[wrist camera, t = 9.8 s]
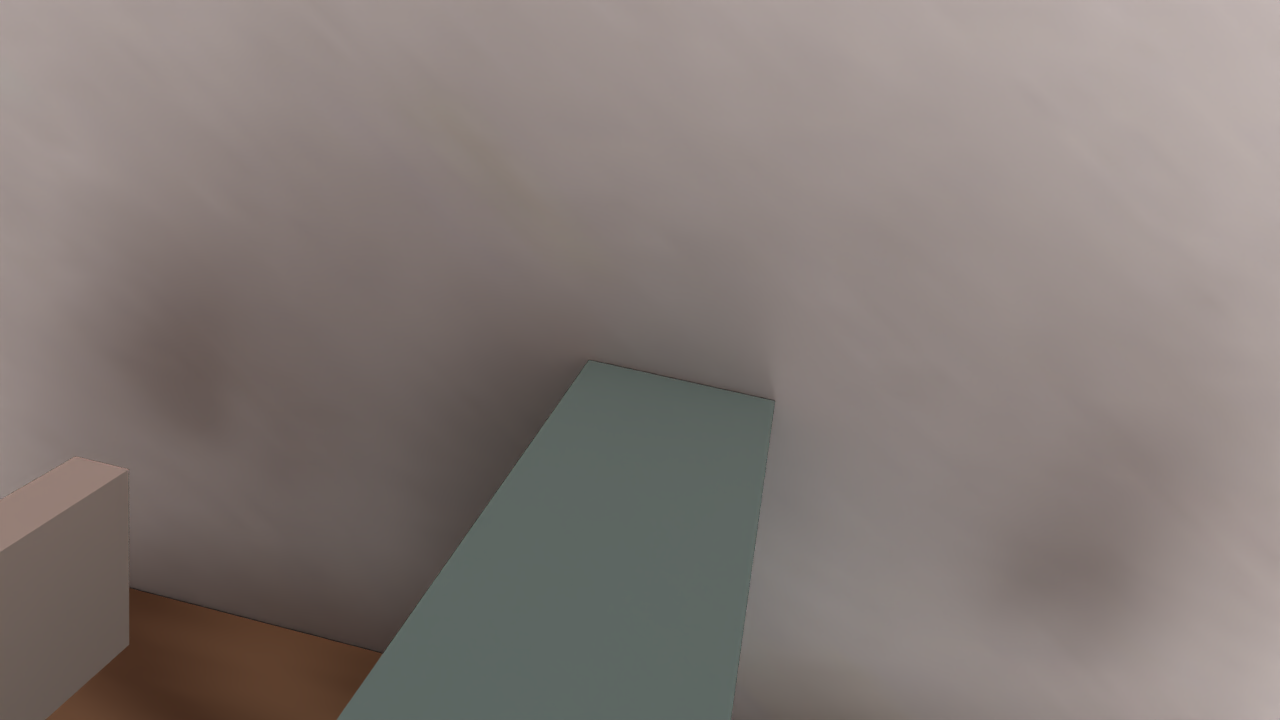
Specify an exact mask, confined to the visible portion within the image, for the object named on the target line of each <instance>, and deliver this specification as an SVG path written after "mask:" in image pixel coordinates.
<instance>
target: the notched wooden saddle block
mask: <svg viewBox="0 0 1280 720" xmlns="http://www.w3.org/2000/svg"><path fill="white" fill-rule="evenodd" d="M381 656H382V653H378V652H375V651H371V650H367V649H363V648H359V647H355V646H351V645H348V644H344V643H340V642H336V641H332V640H328V639H324V638H320V637H317V636H313V635H309V634H305V633H301V632H297V631H293V630H290V629H286V628H282V627H278V626H274V625H270V624H266V623H262V622H259V621H255V620H251V619H247V618H243V617H239V616H235V615H232V614H228V613H224V612H220V611H216V610H212V609H208V608H205V607H201V606H197V605H193V604H189V603H185V602H181V601H177V600H174V599H170V598H166V597H162V596H158V595H154V594H150V593H147V592H143V591H139V590H135V589H131V588H129V645H128V646H127V647H126V648H125V649H124V650H123V651H122V652H120V653H119V654H118V655H117V656H116V657H115V658H114V659H113V660H111V661H110V662H109V663H108V664H107V665H106V666H105V667H104V668H103V669H101V670H100V671H99V672H98V673H97V674H96V675H95V676H94V677H92V678H91V679H90V680H89V681H88V682H87V683H86V684H85V685H84V686H82V687H81V688H80V689H79V690H78V691H77V692H76V693H75V694H73V695H72V696H71V697H70V698H69V699H68V700H67V701H66V702H65V703H63V704H62V705H61V706H60V707H59V708H58V709H57V710H56V711H54V712H53V713H52V714H51V715H50V716H49V717H48V718H47V719H46V720H337V718H338V717H339V716H340V714H341V713H342V711H343V710H344V708H345V707H346V706H347V704H348V703H349V701H350V700H351V698H352V697H353V696H354V694H355V693H356V691H357V690H358V689H359V687H360V686H361V684H362V683H363V681H364V680H365V679H366V677H367V676H368V674H369V673H370V671H371V670H372V669H373V667H374V666H375V664H376V663H377V661H378V660H379V659H380V657H381Z"/></svg>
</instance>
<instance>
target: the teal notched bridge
mask: <svg viewBox="0 0 1280 720" xmlns="http://www.w3.org/2000/svg"><path fill="white" fill-rule="evenodd" d="M774 405H775V401H773V400H768V399H764V398H759V397H755V396H750V395H746V394H741V393H737V392H732V391H728V390H723V389H719V388H714V387H709V386H705V385H700V384H696V383H691V382H687V381H682V380H678V379H673V378H669V377H664V376H660V375H655V374H651V373H646V372H641V371H637V370H632V369H628V368H623V367H619V366H614V365H610V364H605V363H601V362H596V361H592V360H589V361H588V362H587V364H586V365H585V366H584V368H583V369H582V371H581V372H580V374H579V375H578V376H577V378H576V379H575V381H574V382H573V384H572V385H571V386H570V388H569V389H568V391H567V392H566V394H565V395H564V396H563V398H562V399H561V401H560V402H559V404H558V405H557V406H556V408H555V409H554V411H553V412H552V413H551V415H550V416H549V418H548V419H547V421H546V422H545V423H544V425H543V426H542V428H541V429H540V431H539V432H538V433H537V435H536V436H535V438H534V439H533V441H532V442H531V443H530V445H529V446H528V448H527V449H526V451H525V452H524V453H523V455H522V456H521V458H520V459H519V461H518V462H517V463H516V465H515V466H514V468H513V469H512V470H511V472H510V473H509V475H508V476H507V478H506V479H505V480H504V482H503V483H502V485H501V486H500V488H499V489H498V490H497V492H496V493H495V495H494V496H493V498H492V499H491V500H490V502H489V503H488V505H487V506H486V508H485V509H484V510H483V512H482V513H481V515H480V516H479V518H478V519H477V520H476V522H475V523H474V525H473V526H472V527H471V529H470V530H469V532H468V533H467V535H466V536H465V537H464V539H463V540H462V542H461V543H460V545H459V546H458V547H457V549H456V550H455V552H454V553H453V555H452V556H451V557H450V559H449V560H448V562H447V563H446V565H445V566H444V567H443V569H442V570H441V572H440V573H439V575H438V576H437V577H436V579H435V580H434V582H433V583H432V584H431V586H430V587H429V589H428V590H427V592H426V593H425V594H424V596H423V597H422V599H421V600H420V602H419V603H418V604H417V606H416V607H415V609H414V610H413V612H412V613H411V614H410V616H409V617H408V619H407V620H406V622H405V623H404V624H403V626H402V627H401V629H400V630H399V632H398V633H397V634H396V636H395V637H394V639H393V640H392V641H391V643H390V644H389V646H388V647H387V649H386V650H385V651H384V653H383V654H382V656H381V657H380V659H379V660H378V661H377V663H376V664H375V666H374V667H373V669H372V670H371V671H370V673H369V674H368V676H367V677H366V679H365V680H364V681H363V683H362V684H361V686H360V687H359V689H358V690H357V691H356V693H355V694H354V696H353V697H352V698H351V700H350V701H349V703H348V704H347V706H346V707H345V708H344V710H343V711H342V713H341V714H340V716H339V717H338V718H337V720H731V716H732V708H733V701H734V694H735V687H736V680H737V672H738V665H739V658H740V651H741V643H742V636H743V629H744V622H745V614H746V607H747V600H748V593H749V586H750V578H751V571H752V564H753V557H754V549H755V542H756V535H757V528H758V521H759V513H760V506H761V499H762V492H763V484H764V477H765V470H766V463H767V456H768V448H769V441H770V434H771V427H772V419H773V412H774Z"/></svg>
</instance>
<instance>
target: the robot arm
mask: <svg viewBox="0 0 1280 720" xmlns="http://www.w3.org/2000/svg"><path fill="white" fill-rule="evenodd" d="M128 645H129V469H126V468H122V467H118V466H114V465H109V464H105V463H101V462H97V461H93V460H89V459H85V458H81V457H77V456H75V457H73V458H72V459H70V460H68V461H66V462H65V463H63V464H61V465H60V466H58V467H56V468H54V469H53V470H51V471H49V472H47V473H46V474H44V475H42V476H41V477H39V478H37V479H35V480H34V481H32V482H30V483H28V484H27V485H25V486H23V487H22V488H20V489H18V490H16V491H15V492H13V493H11V494H9V495H8V496H6V497H4V498H3V499H1V500H0V720H46V719H47V718H48V717H49V716H50V715H51V714H52V713H53V712H54V711H56V710H57V709H58V708H59V707H60V706H61V705H62V704H63V703H65V702H66V701H67V700H68V699H69V698H70V697H71V696H72V695H73V694H75V693H76V692H77V691H78V690H79V689H80V688H81V687H82V686H84V685H85V684H86V683H87V682H88V681H89V680H90V679H91V678H92V677H94V676H95V675H96V674H97V673H98V672H99V671H100V670H101V669H103V668H104V667H105V666H106V665H107V664H108V663H109V662H110V661H111V660H113V659H114V658H115V657H116V656H117V655H118V654H119V653H120V652H122V651H123V650H124V649H125V648H126V647H127V646H128Z"/></svg>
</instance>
